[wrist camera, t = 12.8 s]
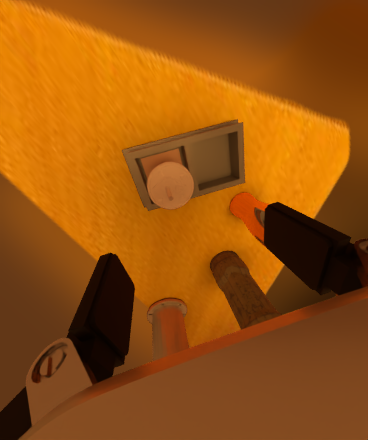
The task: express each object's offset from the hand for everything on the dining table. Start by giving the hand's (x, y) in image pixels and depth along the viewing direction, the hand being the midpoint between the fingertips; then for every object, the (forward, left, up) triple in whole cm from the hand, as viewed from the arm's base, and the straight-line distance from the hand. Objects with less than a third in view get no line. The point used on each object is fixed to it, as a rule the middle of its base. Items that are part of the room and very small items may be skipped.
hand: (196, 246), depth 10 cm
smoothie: (0, 0, -23) cm, 23 cm away
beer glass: (-12, -16, -24) cm, 31 cm away
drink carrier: (0, -5, -24) cm, 24 cm away
